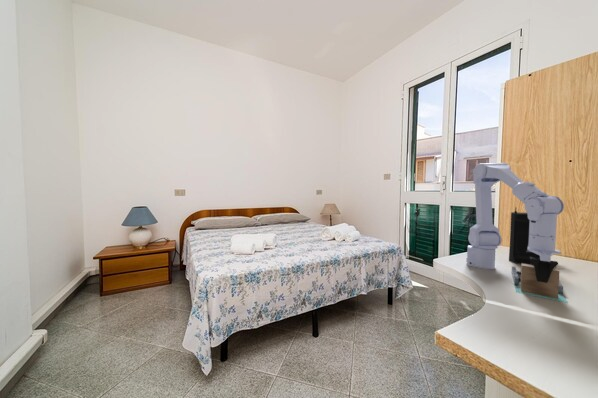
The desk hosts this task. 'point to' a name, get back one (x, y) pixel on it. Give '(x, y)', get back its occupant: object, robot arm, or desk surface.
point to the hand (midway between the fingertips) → (539, 277)
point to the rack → (517, 279)
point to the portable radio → (519, 238)
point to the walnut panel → (536, 287)
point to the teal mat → (560, 297)
